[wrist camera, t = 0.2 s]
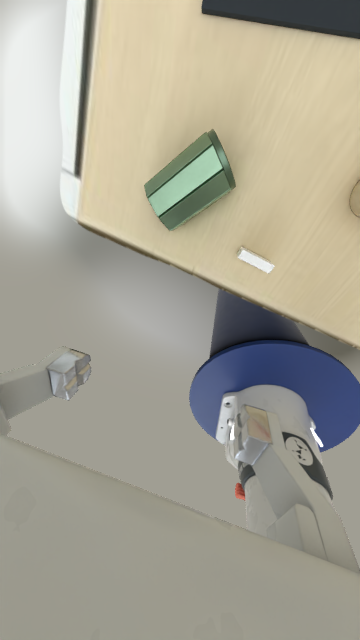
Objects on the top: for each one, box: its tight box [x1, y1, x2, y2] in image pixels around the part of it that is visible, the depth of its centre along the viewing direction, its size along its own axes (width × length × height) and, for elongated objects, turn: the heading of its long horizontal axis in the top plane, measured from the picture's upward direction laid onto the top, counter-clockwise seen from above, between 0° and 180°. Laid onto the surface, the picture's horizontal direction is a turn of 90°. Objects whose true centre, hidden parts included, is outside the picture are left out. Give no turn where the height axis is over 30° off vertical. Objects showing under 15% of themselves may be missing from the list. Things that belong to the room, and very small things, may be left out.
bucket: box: [144, 129, 236, 231], centre depth 25 cm, size 10×6×6 cm, turn 122°
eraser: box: [237, 246, 274, 274], centre depth 28 cm, size 1×5×4 cm, turn 66°
